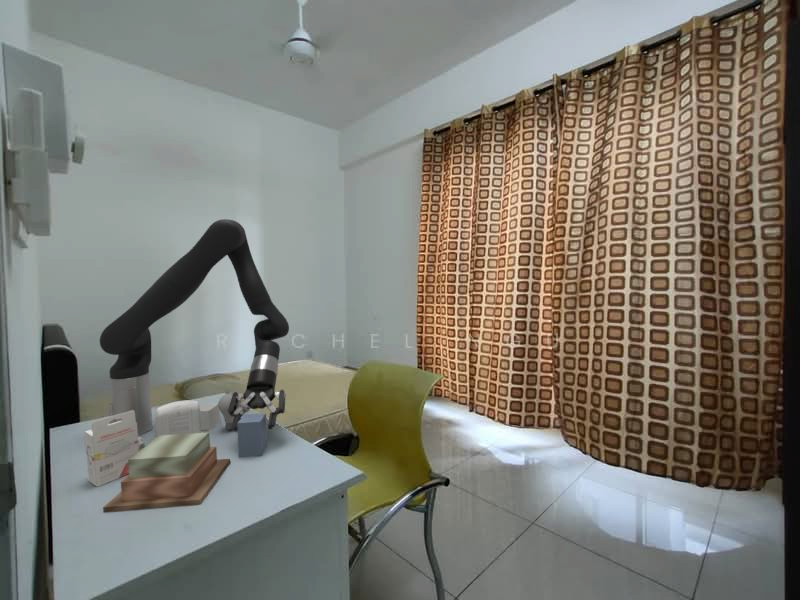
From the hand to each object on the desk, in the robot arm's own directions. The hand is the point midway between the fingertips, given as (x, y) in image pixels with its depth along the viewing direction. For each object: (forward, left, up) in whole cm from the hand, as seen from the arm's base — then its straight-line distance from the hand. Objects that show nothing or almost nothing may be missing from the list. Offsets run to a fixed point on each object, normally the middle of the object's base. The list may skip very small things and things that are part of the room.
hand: (253, 429), depth 91 cm
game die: (-32, +6, -6) cm, 33 cm away
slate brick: (0, 0, -6) cm, 6 cm away
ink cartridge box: (-29, -7, -6) cm, 31 cm away
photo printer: (-21, +6, -6) cm, 23 cm away
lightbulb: (-11, +15, -6) cm, 20 cm away
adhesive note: (-20, +19, -6) cm, 28 cm away
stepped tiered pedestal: (-13, -13, -6) cm, 20 cm away
